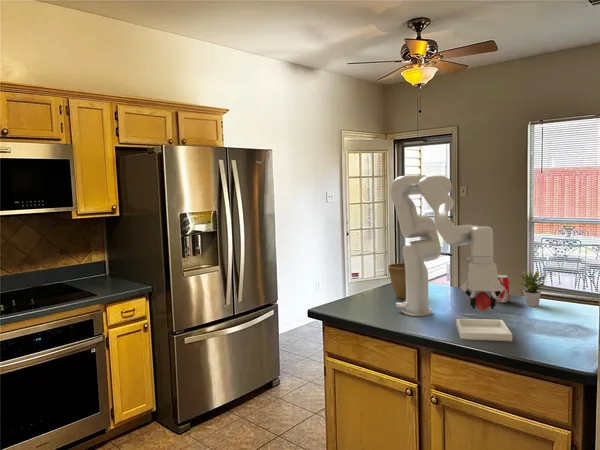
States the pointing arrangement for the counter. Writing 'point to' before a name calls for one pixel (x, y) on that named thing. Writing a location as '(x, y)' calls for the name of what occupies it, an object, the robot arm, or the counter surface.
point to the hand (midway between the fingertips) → (482, 307)
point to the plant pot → (398, 279)
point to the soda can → (504, 295)
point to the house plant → (532, 288)
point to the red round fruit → (482, 301)
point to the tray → (483, 330)
